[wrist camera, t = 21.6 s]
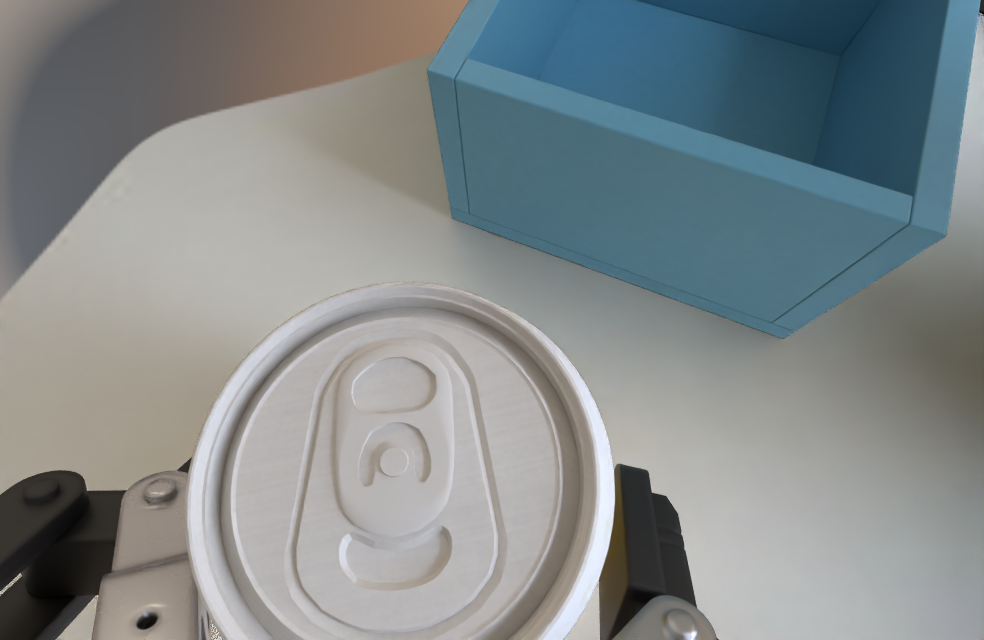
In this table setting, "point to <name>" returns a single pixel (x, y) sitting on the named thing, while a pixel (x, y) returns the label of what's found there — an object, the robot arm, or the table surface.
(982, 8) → the smart home device
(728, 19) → the blue open box
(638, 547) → the robot arm
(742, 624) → the table surface
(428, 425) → the beer can
